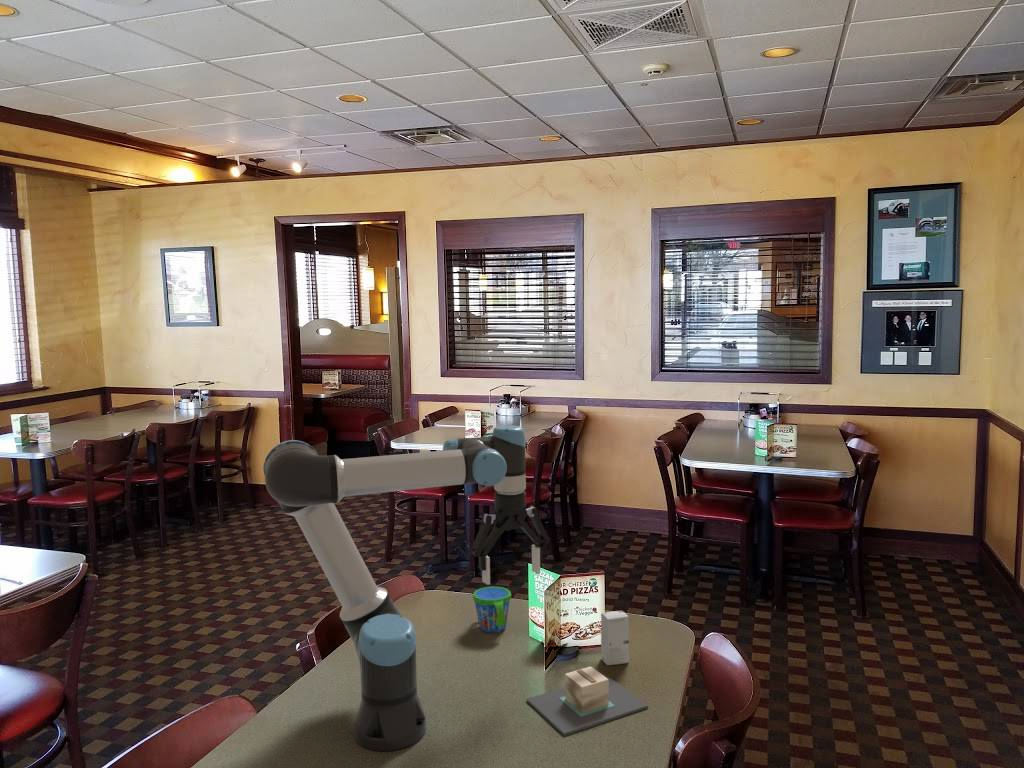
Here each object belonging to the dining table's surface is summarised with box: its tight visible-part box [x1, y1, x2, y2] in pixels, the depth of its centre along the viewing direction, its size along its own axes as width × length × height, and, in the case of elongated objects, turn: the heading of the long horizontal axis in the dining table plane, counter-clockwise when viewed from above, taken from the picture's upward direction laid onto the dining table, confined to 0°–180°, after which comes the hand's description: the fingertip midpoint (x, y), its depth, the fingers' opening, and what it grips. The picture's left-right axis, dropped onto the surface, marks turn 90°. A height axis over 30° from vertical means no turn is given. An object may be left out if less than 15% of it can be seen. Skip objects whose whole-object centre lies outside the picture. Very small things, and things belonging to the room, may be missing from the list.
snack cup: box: [472, 586, 512, 633], centre depth 209 cm, size 16×10×10 cm
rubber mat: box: [526, 674, 649, 737], centre depth 169 cm, size 22×16×1 cm
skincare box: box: [600, 610, 630, 666], centre depth 189 cm, size 6×4×12 cm
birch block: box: [564, 666, 609, 713], centre depth 168 cm, size 7×7×6 cm
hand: (511, 577), depth 180 cm, fingers open, 13 cm apart
